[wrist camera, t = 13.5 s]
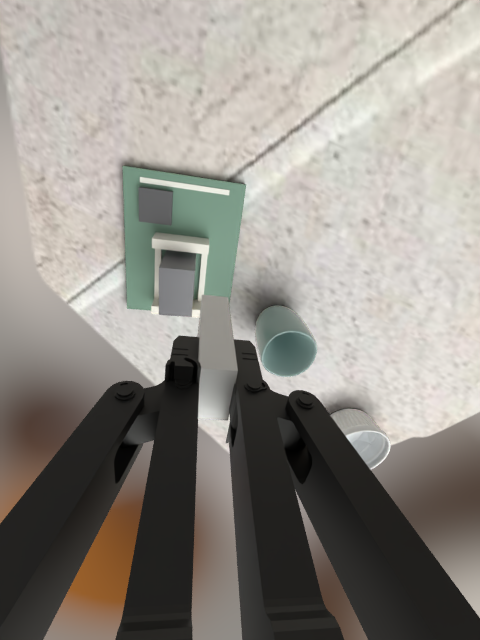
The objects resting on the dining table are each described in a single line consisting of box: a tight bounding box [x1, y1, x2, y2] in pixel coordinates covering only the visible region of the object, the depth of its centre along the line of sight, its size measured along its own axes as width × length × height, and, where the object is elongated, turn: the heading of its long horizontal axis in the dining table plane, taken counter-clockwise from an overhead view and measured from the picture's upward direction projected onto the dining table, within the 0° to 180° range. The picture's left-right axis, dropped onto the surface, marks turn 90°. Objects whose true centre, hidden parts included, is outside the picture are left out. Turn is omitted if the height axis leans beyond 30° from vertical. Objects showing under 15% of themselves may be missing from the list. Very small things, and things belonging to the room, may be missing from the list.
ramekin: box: [330, 409, 391, 470], centre depth 60 cm, size 13×13×7 cm
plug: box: [159, 250, 196, 317], centre depth 39 cm, size 7×4×8 cm, turn 172°
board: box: [123, 166, 246, 318], centre depth 40 cm, size 19×15×5 cm
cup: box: [255, 305, 317, 377], centre depth 45 cm, size 8×8×10 cm
